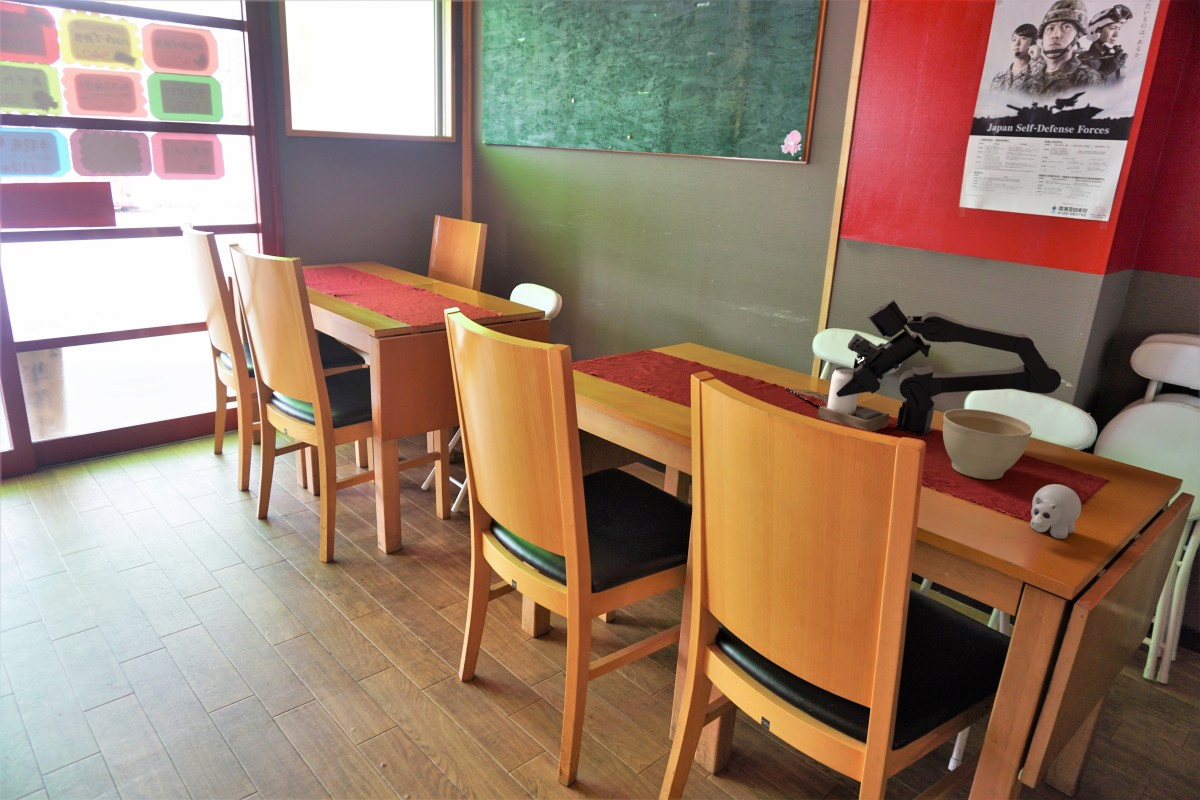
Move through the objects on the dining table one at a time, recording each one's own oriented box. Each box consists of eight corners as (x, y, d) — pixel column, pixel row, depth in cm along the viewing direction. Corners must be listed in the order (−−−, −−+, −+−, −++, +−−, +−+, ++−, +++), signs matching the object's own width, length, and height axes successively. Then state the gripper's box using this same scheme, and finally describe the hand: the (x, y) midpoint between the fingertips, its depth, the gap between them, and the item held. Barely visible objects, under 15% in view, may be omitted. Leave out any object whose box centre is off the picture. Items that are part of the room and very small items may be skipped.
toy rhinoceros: (1006, 536, 133) (1018, 489, 130) (1036, 518, 140) (1048, 474, 137) (1051, 553, 127) (1064, 506, 125) (1080, 534, 135) (1092, 488, 132)
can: (832, 412, 191) (839, 364, 187) (858, 418, 187) (866, 370, 184) (821, 418, 186) (828, 369, 183) (847, 425, 183) (855, 375, 179)
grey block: (879, 425, 183) (881, 411, 182) (864, 431, 179) (866, 416, 178) (865, 421, 186) (867, 407, 185) (850, 427, 181) (852, 412, 180)
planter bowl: (1022, 468, 163) (1034, 419, 159) (1017, 495, 149) (1030, 441, 146) (940, 450, 170) (950, 402, 167) (928, 474, 157) (938, 422, 154)
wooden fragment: (878, 416, 191) (879, 412, 191) (847, 422, 186) (848, 418, 185) (801, 386, 212) (802, 383, 212) (771, 391, 206) (772, 387, 206)
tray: (887, 426, 184) (889, 413, 183) (865, 434, 177) (867, 422, 176) (839, 411, 192) (841, 399, 191) (817, 418, 186) (819, 406, 185)
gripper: (873, 317, 187) (819, 355, 194) (872, 332, 170) (813, 374, 177) (902, 353, 187) (847, 390, 194) (905, 372, 170) (844, 413, 177)
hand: (837, 391), depth 185 cm, fingers closed on can, 6 cm apart
